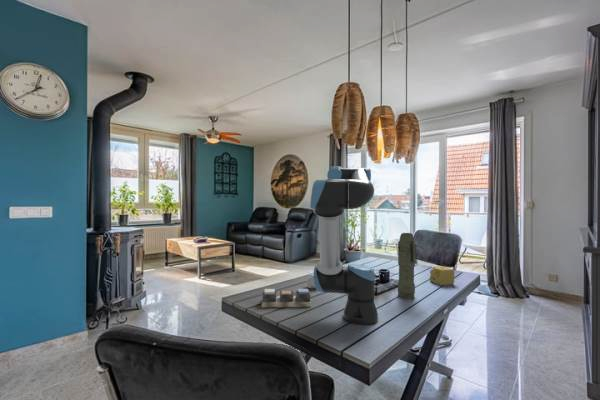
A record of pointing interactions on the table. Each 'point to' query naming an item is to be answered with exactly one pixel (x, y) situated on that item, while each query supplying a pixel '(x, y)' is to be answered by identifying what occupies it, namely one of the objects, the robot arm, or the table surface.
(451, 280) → the cheese
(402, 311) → the table surface
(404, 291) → the thermos
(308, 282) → the grey rounded lump
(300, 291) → the button slate
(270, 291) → the button cream
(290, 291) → the button terracotta
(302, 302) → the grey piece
